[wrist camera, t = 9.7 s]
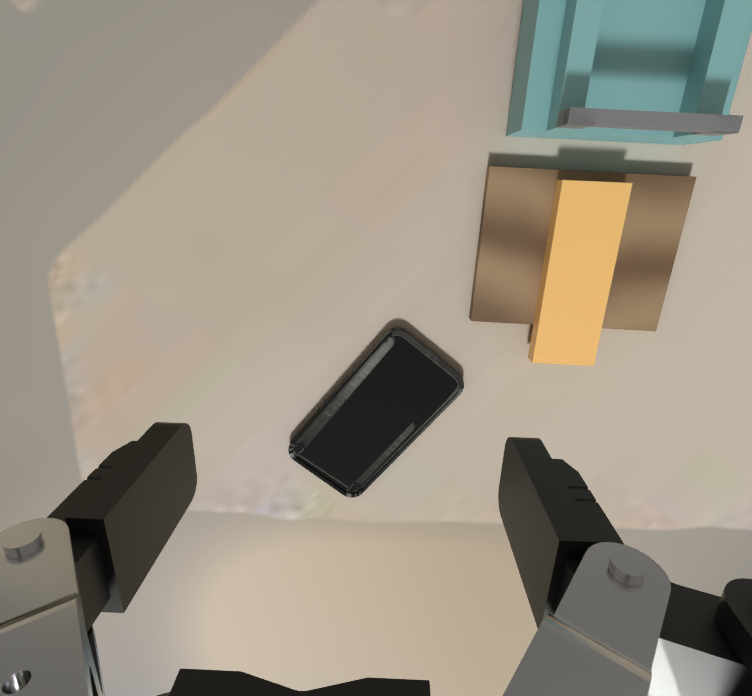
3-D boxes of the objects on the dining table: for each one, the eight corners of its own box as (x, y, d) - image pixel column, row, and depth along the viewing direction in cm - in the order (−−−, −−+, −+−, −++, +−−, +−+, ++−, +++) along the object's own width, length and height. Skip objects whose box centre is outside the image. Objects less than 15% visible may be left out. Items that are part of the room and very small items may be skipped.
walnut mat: (487, 166, 33) (490, 166, 32) (689, 177, 32) (696, 176, 32) (469, 317, 36) (470, 320, 36) (650, 328, 36) (655, 331, 35)
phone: (283, 452, 40) (396, 324, 36) (285, 445, 41) (396, 320, 37) (354, 502, 42) (471, 385, 37) (355, 494, 43) (469, 379, 38)
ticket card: (556, 180, 32) (562, 180, 31) (624, 183, 32) (632, 183, 31) (528, 357, 36) (532, 362, 35) (587, 359, 36) (593, 365, 35)
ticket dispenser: (529, -43, 29) (575, -118, 21) (726, -34, 28) (839, -107, 21) (506, 136, 32) (539, 122, 25) (682, 144, 32) (767, 134, 25)
